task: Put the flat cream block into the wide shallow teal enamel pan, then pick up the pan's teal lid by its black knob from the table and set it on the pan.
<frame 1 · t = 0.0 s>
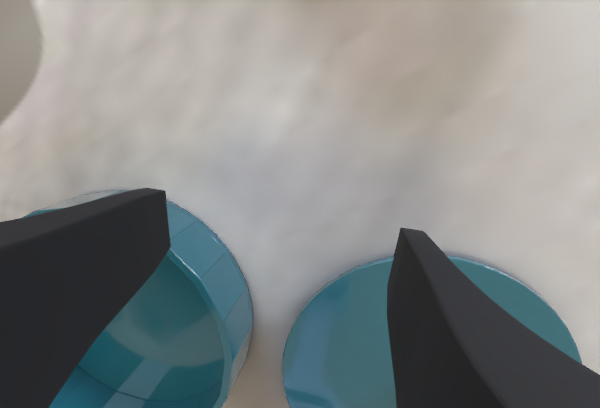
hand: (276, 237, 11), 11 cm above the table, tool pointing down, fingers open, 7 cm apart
lid: (420, 383, 23), point 1 cm above the table
pan: (139, 304, 25), on the table
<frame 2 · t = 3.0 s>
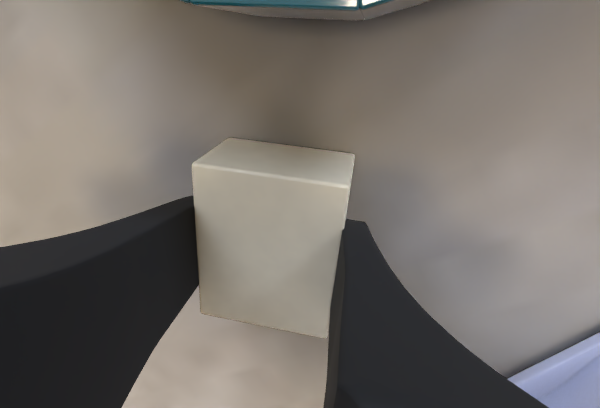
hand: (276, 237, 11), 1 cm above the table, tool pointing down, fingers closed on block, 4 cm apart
block: (285, 216, 12), on the table, touching gripper
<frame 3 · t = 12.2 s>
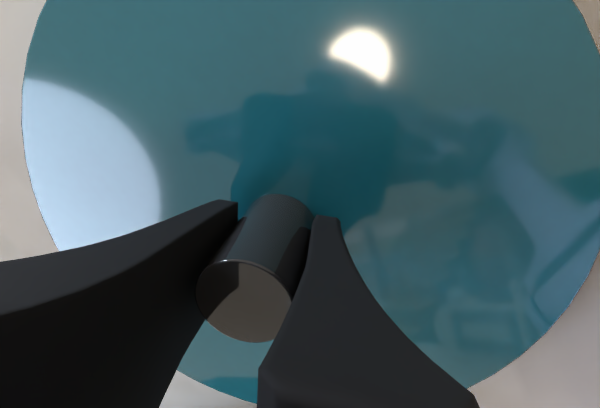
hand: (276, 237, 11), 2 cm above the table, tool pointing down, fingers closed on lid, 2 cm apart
lid: (283, 220, 12), point 1 cm above the table, touching gripper
when the fingers open (5 cm above the table, at t = 16.5 s): lid stays where it is, resting on pan.
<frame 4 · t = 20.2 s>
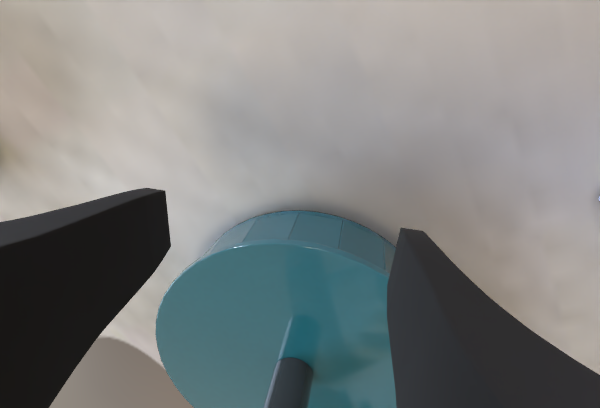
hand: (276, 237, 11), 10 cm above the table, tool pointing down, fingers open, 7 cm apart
lid: (295, 364, 22), point 4 cm above the table, touching pan
pan: (307, 315, 25), on the table
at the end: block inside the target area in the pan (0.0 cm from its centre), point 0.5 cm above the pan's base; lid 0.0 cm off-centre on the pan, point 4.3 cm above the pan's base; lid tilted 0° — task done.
